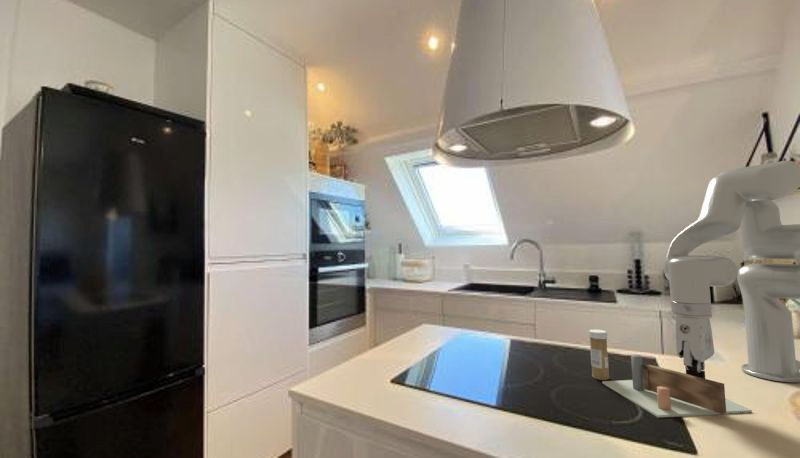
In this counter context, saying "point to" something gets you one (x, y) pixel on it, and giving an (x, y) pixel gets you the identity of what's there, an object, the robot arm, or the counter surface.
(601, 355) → the sprinkles bottle
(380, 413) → the counter surface
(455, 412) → the counter surface
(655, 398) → the gate frame
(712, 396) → the gate
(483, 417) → the counter surface
